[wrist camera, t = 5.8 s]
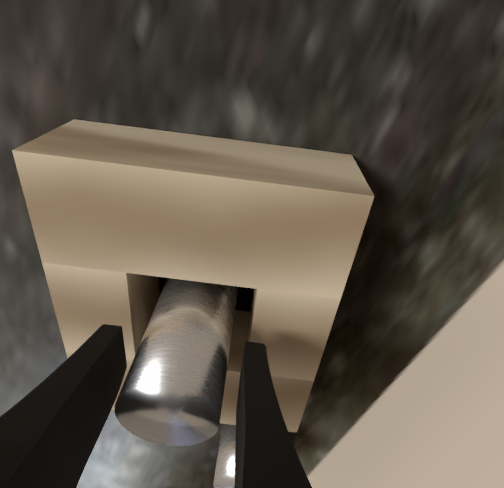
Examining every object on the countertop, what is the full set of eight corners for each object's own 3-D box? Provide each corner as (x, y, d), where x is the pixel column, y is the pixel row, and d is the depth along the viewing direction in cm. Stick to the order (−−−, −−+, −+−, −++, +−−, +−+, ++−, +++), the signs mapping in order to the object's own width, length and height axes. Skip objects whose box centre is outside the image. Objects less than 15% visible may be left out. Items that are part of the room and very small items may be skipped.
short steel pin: (267, 432, 23) (264, 504, 19) (221, 425, 23) (210, 496, 19) (276, 406, 21) (275, 479, 18) (227, 397, 21) (216, 470, 18)
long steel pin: (235, 299, 17) (214, 452, 11) (173, 290, 17) (117, 438, 11) (244, 247, 15) (225, 393, 9) (175, 236, 15) (111, 378, 9)
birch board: (293, 368, 19) (296, 432, 16) (110, 346, 19) (80, 406, 16) (351, 154, 13) (374, 196, 10) (74, 119, 13) (11, 150, 10)
